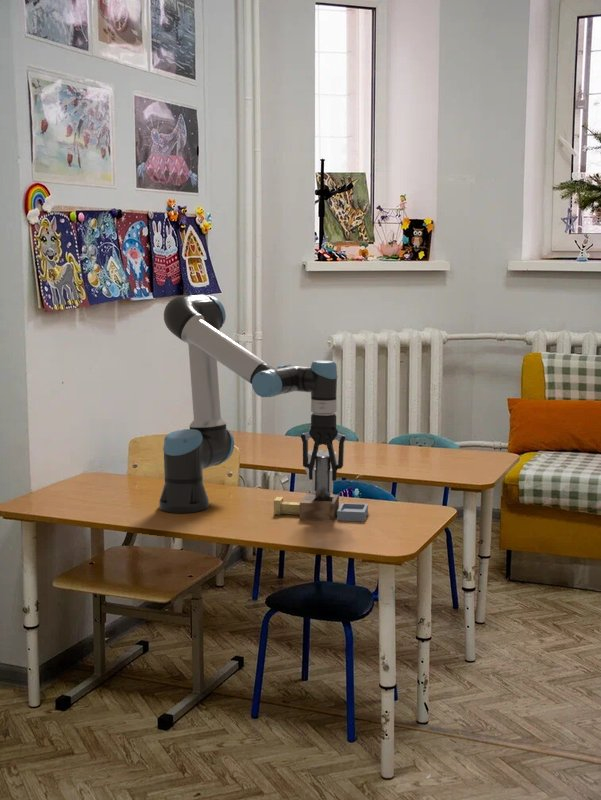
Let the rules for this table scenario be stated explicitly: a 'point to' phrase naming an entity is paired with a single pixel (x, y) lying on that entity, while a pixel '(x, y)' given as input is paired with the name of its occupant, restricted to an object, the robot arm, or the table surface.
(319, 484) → the grey metal bar
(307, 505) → the socket block
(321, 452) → the cup
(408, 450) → the table surface
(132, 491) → the table surface
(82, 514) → the table surface
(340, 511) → the grey open tray
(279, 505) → the bar
